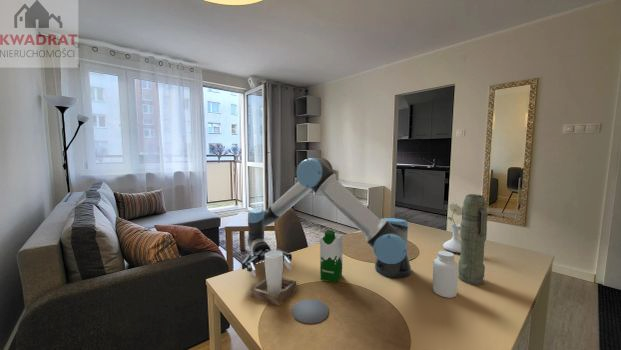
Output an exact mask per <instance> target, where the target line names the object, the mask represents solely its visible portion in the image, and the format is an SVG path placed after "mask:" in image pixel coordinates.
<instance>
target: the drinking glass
mask: <svg viewBox="0 0 621 350" xmlns="http://www.w3.org/2000/svg"><path fill="white" fill-rule="evenodd" d="M283 268H284V261H283V253H282V252H280V251H276V250H273V251H269V252H267V253H265V260H264V269H265V270H264V271H265V278H266V281H267V287H266V289H267V290H266V292H269V293H273V294H276V295H279V294H280V293H281V292H282V291H283V290H282V287H283V286H282V278H283V270H284V269H283Z"/></svg>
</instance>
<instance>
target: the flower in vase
mask: <svg viewBox="0 0 621 350" xmlns="http://www.w3.org/2000/svg"><path fill="white" fill-rule="evenodd" d="M448 208H449V210H450V212H451V213H452V215H451V216H447V218H446V219H447V220H449V221H451V222H453V223H450V226H451V227H452V237H451V239H449V240H446V241H445V242H444V243H443V244H442V247H443V249H444V250H447V251H448V252H451V253H458V254H459V253H460V254H461V241H460V239H459V232H460V227H461V224H459V223H458V222H460V220H461V219H458V220H456V221H454V215H456V216H462V207H461V206H460V205H458V203H455V202H451V203H449V204H448Z"/></svg>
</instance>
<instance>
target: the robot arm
mask: <svg viewBox="0 0 621 350" xmlns="http://www.w3.org/2000/svg"><path fill="white" fill-rule="evenodd" d="M296 179H297V182H296V183H295V184H293V186H292V187H290V188H289V189H288V190H287V191H286V192H285V193H284V194H283V195H281V196H279V198H278V199H277V200H276V201H274V203H272V204H271V205H270V206H269V207H268V208H267V209H265V210H262V209H251V210H249V211H248V213H247V227H248V228H247V229H248V230H247V231H248V234H247V236H248V237H247V246H248V247H249V248H250V250H251V252H252V253H251V252H247V253H246V257H245V258H244V259H243V260H242V262H241V270H246V271H247V272H250V273H251V274H252V277H253V278H256V268H255V266H256V264H257V263H260V262H261V261H262V262H263V261H265V253H267V252H269V251H274V250H272V249H271V247H270V245H269V244H268V242H267V241H266V240H265V227H267V226H268V225H271V224H273V223H276V222H277V221H278V220H279V219H280V218H281V217H282V215H284V214H285V213H286V212H287V211H289V210H290V209H291V208H292V207H293V206H294V205H296V204H297V203H298V202H300V200H302V199H303V198H304V197H305V196H307V195H308V194H309V193H310V192H311V191H313V192H314V193H315V194H316V195H322V196H323V197H324V198H325V199H326V200H327V201H329V202H330V203H331V204H332V206H334V207H335V208H336V209H337V210H338V211H339V212H340V213H341V214H342V215H343V216H344V217H345V218H346V219H347V220H349V222H351V223H352V224H353V225H354V226H355V227H356V228H357V229H358V230H359V231H360V232H361V233H362V234H363V235H364V236H365V242H366V243H367V244H368V245H369V246H370V247H371V248H373V253H374V255H375V257H376V260H375V262H374V268H375V270H376V272H377V273H379V274H380V275H382V276H384V277H388V278H392V279H393V278H394V279H401V278H402V279H403V278H408V277H409V276H410V275H411V273H412V267H411V263H410V261H409V255H408V250H409V249H408V237H409V236H408V232H409V231H408V230H409V222H408V221H407V220H405V219H401V218H394V217H384V218H383V217H382V218H379V217H378V216H377V215H376V214H374V212H372V211H371V210H370V209H369V208H368V207H367V206H365V204H364V203H362V202H361V200H360V199H358V198H357V197H356V196H355V195H354V194H353V193H352V192H351V191H350V190H348V189H347V188H346V187H345V186H344V184H342V183H341V182H339V181H338V180H337V175H336V173H335V171H334V169H333V165H332V164H331V162H330V161H329V160H328V159H326V158H323V157H317V158H316V157H315V158H314V157H308V158H307V159H304V160H301V162H300V163H299V164H298V165H297V167H296ZM275 251H280V252H282V253H283V264H284V265H285V266H286V268H287V269H288V270H290V271H291V270H292V260H293V259H292V258H293V254H292V253H289V252H287V251H284V250H281V249H280V248H275Z"/></svg>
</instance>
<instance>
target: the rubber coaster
mask: <svg viewBox="0 0 621 350" xmlns="http://www.w3.org/2000/svg"><path fill="white" fill-rule="evenodd" d="M328 307H329V306H328V305H327V304H326V303H324V302H323V301H321V300H319V299H311V298H309V299H308V298H306V299H302V300H300V301H298V302H296V303H295V304H294V305H293V306H292V308H291V313H292V314H291V315H292V317H293V318H294V319H295V321H297V322H299V323H302V324H306V325H307V324H308V325H311V324H319V323H320V322H322V321H325V320H326V318H327V317H328V315H329V308H328Z"/></svg>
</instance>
